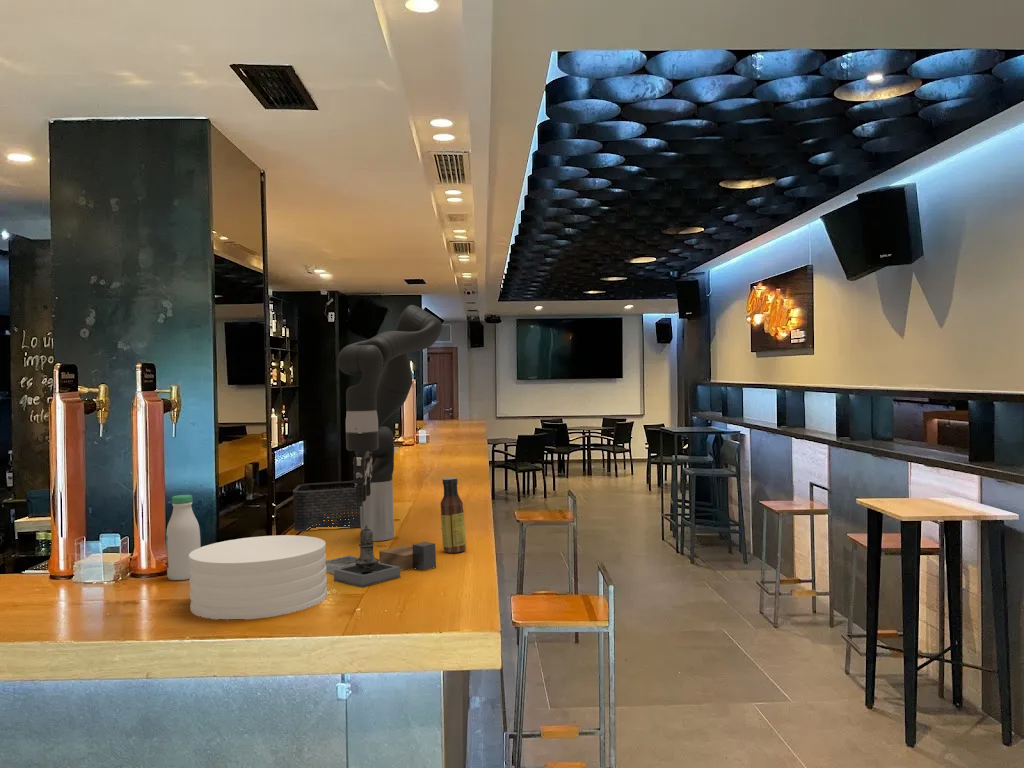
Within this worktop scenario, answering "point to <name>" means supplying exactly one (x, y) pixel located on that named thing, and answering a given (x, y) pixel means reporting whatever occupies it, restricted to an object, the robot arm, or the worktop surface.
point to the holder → (340, 563)
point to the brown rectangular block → (398, 557)
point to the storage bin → (326, 505)
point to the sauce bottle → (452, 518)
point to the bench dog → (424, 555)
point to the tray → (366, 575)
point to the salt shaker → (366, 553)
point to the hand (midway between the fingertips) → (363, 498)
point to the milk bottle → (181, 538)
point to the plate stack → (257, 577)
